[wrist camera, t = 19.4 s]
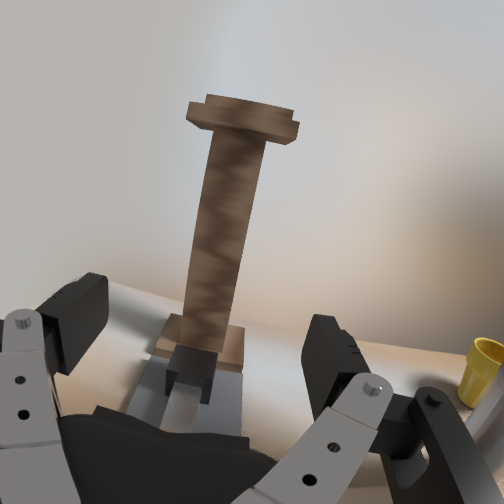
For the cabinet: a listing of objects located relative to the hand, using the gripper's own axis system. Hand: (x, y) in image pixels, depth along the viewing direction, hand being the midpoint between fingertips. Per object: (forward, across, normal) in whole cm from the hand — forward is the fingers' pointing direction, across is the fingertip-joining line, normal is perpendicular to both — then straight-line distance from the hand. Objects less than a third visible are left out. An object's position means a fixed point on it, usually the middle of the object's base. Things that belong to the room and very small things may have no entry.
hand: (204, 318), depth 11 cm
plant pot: (+18, -44, +22) cm, 53 cm away
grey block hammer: (+11, +2, +20) cm, 23 cm away
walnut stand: (+28, +2, +21) cm, 35 cm away
